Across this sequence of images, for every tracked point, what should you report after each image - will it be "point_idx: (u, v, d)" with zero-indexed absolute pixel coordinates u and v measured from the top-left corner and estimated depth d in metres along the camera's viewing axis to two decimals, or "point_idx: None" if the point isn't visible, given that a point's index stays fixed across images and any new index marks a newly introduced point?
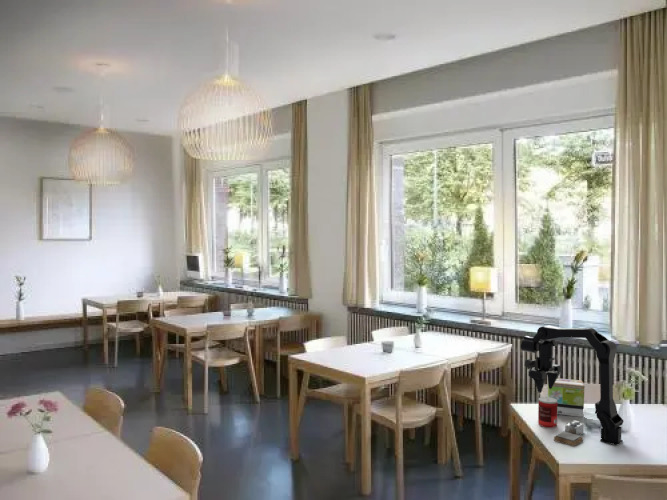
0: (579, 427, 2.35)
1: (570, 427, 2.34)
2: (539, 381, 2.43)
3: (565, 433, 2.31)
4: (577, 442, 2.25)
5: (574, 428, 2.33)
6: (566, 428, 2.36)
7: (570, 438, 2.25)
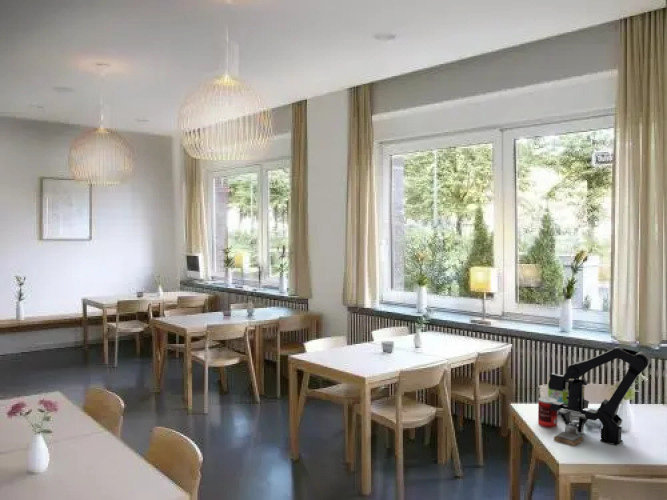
0: None
1: (570, 427, 2.34)
2: None
3: (565, 433, 2.31)
4: (577, 442, 2.25)
5: (574, 428, 2.33)
6: (566, 428, 2.36)
7: (570, 438, 2.25)
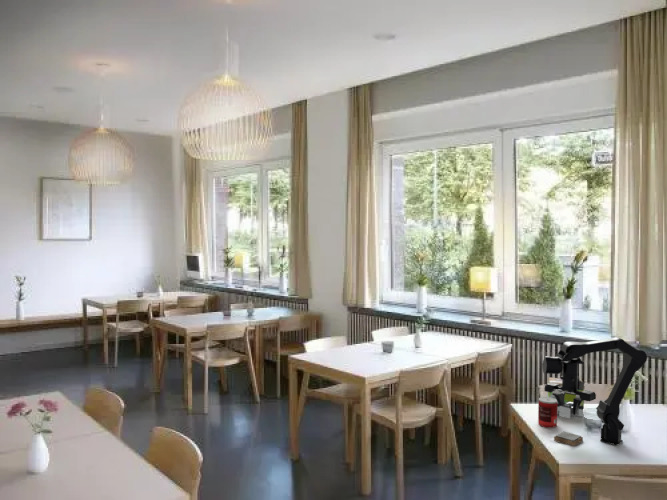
0: None
1: (564, 408, 2.26)
2: None
3: (565, 433, 2.31)
4: (577, 442, 2.25)
5: (568, 409, 2.25)
6: (560, 409, 2.28)
7: (570, 438, 2.25)
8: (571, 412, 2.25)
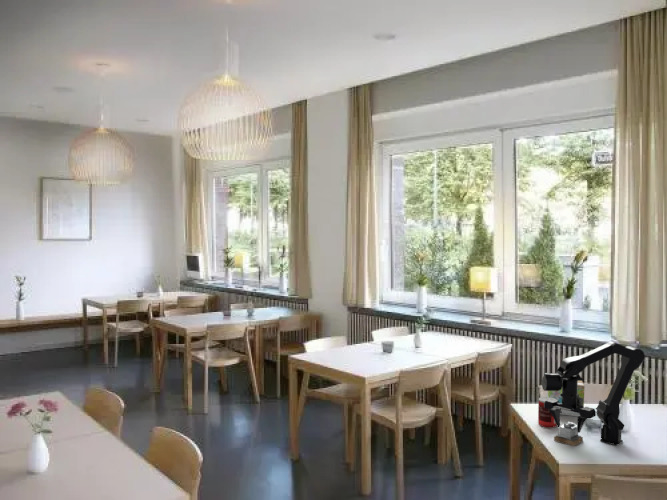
0: (574, 429, 2.26)
1: (564, 429, 2.26)
2: None
3: None
4: (577, 442, 2.25)
5: (568, 430, 2.25)
6: (560, 430, 2.27)
7: None
8: (571, 433, 2.25)
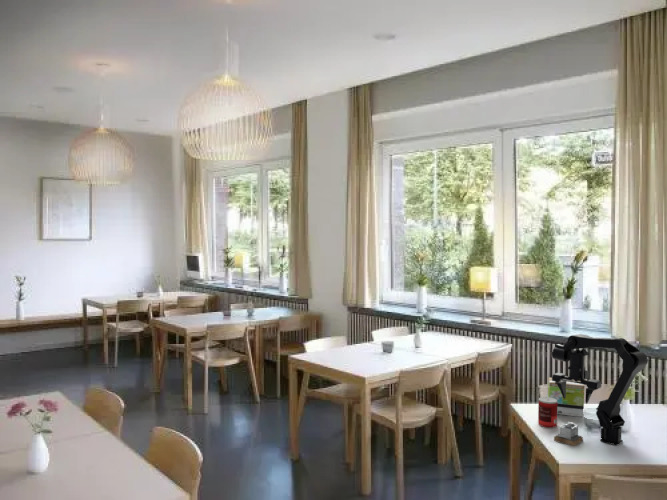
0: (574, 429, 2.26)
1: (564, 429, 2.26)
2: None
3: None
4: (577, 442, 2.25)
5: (568, 430, 2.25)
6: (560, 430, 2.27)
7: None
8: (571, 433, 2.25)
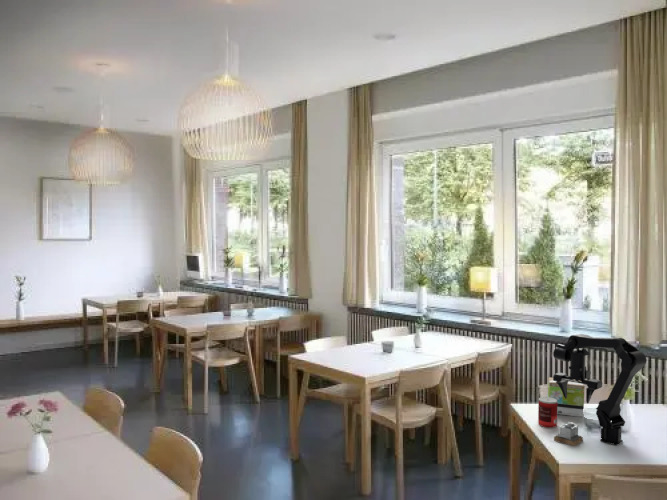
0: (574, 429, 2.26)
1: (564, 429, 2.26)
2: None
3: None
4: (577, 442, 2.25)
5: (568, 430, 2.25)
6: (560, 430, 2.27)
7: None
8: (571, 433, 2.25)
